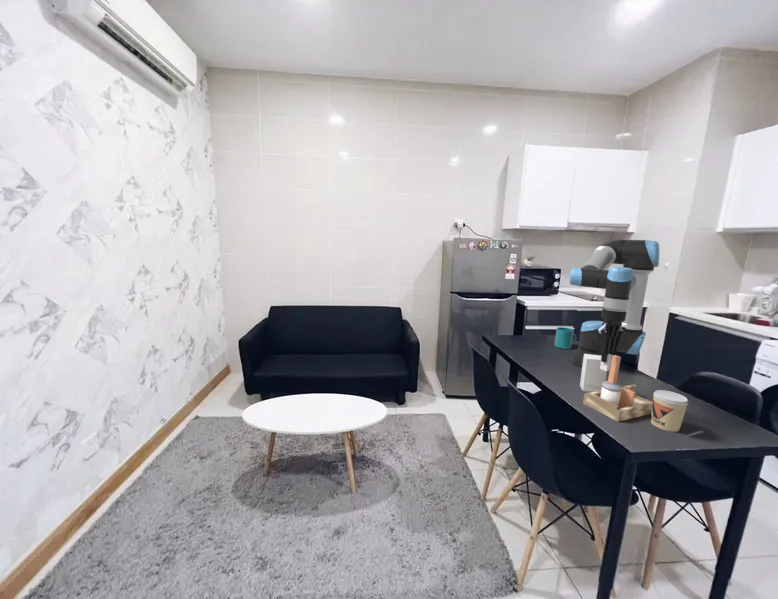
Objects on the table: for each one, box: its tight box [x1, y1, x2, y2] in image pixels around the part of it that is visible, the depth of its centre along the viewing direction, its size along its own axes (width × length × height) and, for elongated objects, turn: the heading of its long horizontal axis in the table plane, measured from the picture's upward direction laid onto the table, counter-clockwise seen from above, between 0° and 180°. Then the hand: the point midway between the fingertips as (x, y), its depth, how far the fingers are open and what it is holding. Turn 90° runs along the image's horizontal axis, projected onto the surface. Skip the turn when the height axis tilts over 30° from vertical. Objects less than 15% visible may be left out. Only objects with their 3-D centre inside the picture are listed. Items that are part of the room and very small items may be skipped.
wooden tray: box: [582, 384, 653, 422], centre depth 131 cm, size 29×14×6 cm, turn 112°
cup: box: [554, 326, 577, 350], centre depth 204 cm, size 9×12×11 cm
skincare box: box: [579, 354, 608, 393], centre depth 144 cm, size 8×7×16 cm
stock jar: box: [600, 382, 622, 406], centre depth 127 cm, size 6×6×10 cm
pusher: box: [605, 354, 636, 409], centre depth 128 cm, size 4×11×19 cm, turn 22°
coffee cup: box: [650, 389, 689, 433], centre depth 118 cm, size 9×9×12 cm
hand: (604, 369), depth 129 cm, fingers closed
